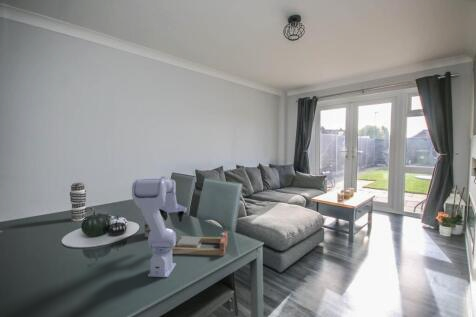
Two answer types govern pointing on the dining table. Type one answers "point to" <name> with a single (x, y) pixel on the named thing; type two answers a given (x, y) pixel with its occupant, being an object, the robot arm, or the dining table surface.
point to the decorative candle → (78, 201)
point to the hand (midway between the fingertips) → (173, 219)
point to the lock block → (190, 242)
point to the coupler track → (205, 251)
